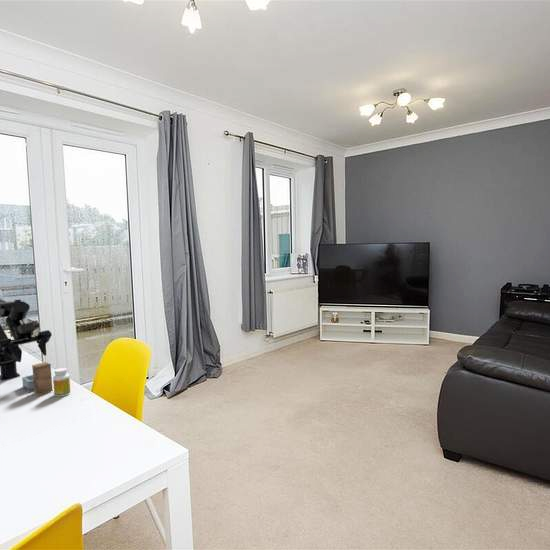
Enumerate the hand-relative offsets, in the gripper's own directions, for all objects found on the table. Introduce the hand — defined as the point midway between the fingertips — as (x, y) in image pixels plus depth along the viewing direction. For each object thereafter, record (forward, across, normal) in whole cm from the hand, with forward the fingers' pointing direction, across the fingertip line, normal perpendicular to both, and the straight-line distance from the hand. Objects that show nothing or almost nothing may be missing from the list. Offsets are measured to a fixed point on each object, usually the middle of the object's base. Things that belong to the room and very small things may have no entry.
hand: (33, 358), depth 149 cm
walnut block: (+13, 0, +4) cm, 14 cm away
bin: (+7, +1, +10) cm, 13 cm away
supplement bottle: (+19, +3, -2) cm, 20 cm away
